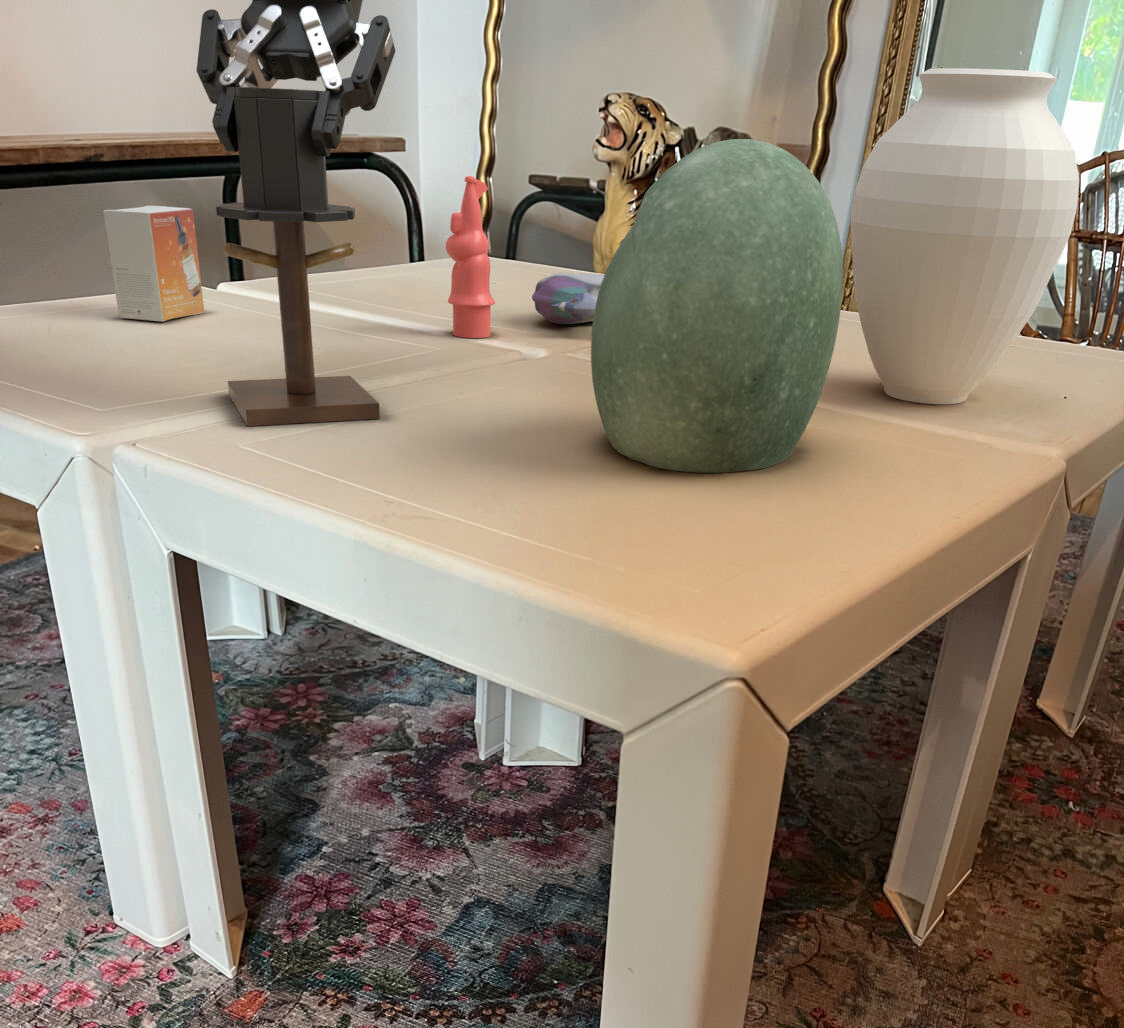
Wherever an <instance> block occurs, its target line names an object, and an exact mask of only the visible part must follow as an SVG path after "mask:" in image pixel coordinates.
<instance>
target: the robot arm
mask: <svg viewBox="0 0 1124 1028" xmlns="http://www.w3.org/2000/svg"><path fill="white" fill-rule="evenodd" d="M363 2H364V1H363V0H252V1H251V3H250V4H249V6H248V7H247V8H246V9H245V10H244V11H243V13H242V15H241V18H230V19H222V18H221V16H220V14H219V13H220V12H218V11H217V10H216V9H214V8H213V9H208V10H205V11H204V12H203V14H202V16H201V24H200V35H199V45H198V53H197V63H196V64H197V65H196V74H197V75H198V79H199V80H200V82H201V84H202V87H203V89H204V91H205V93H206V95H207V98H208V99H209V102H210V103H211V104H213V105H215V108H214V112H213V115H212V120H211V123H212V128H213V129H214V132H215V134H216V137H217V138H218V141H219V142H220V144H222V146H223V147H224V150H225V151H226V152H227V153H229V152H230V153H239V148H238V138H237V127H236V116H235V106H234V97H236V96H235V87H253V88H273V87H274V85H275V84H276V83H277V82H278V81H286V80H292V79H298V80H303V81H308V82H317V81H318V78H321V81H322V83H323V87H324V89H325V90H319V91H320V94H319V98H318V103H317V107H316V112H315V116H314V121H313V125H312V130H311V135H312V140H313V143H314V146H315V149H316V151H317V154H318V156H325V158H326V157H327V158H328V157H330V156H331V152H332V149H333V150H335V149H337V148H338V146H339V145H340V144H341V139H342V135H343V130H344V125H345V120H346V117H347V116H349V114H350V112H351V110H352V109H356V108H360V109H361V110H362V111H364V112H369V111H372V110H374V109H375V108H376V107H377V103H378V101H379V98H380V96H381V93H382V90H383V87H384V85H385V82H386V79H387V77H388V74H389V71H390V67H391V66H392V63H393V60H394V57H395V54H396V47H395V43H394V38H393V35H392V30H391V27H390V22H389V20H388V17H387V16H385V15H381V14H379V15H376V16H374V17H373V18H372V19H371V22H370V23H364V22H359V19H360V14H361V10H362V5H363ZM358 45H359V47H360V49H359V50H360V51H359V53H358V56H357V58H356V61H355V64H354V67H353V69H352V72H351V75H350V76H349V77H345V78H342V76H341V74H340V71H339V68H338V66H337V65H338V64H340V62H341V61H343V60H344V59H345V58H346V57H347V56H348V55H350V53H352V52H353V51H354V50H355V49H356V48H357V47H358ZM230 58H233V60H232V61H231V62H230ZM261 66H262V67H261ZM243 79H244V81H243ZM242 81H243V82H242ZM241 82H242V84H240V83H241Z"/></svg>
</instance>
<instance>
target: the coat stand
mask: <svg viewBox="0 0 1124 1028" xmlns="http://www.w3.org/2000/svg"><path fill="white" fill-rule="evenodd" d="M304 222H305V221H303V222H272V229H273V240H274V241H273V242H274V253H275V254H272V253H270V252H269V253H268V252H265V251H261V250H258V249H254V248H251V247H248V246H244V245H239V244H236V243H232V242H227V243H225V244H224V245H223V252H224V254H225V255H226V256H228V257H230V258H234V259H238V260H242V261H245V262H249V263H253V264H256V265H261V266H263V267H268V268H272V269H275V270H276V275H277V276H276V277H277V278H276V279H277V290H278V300H279V313H280V326H281V337H282V346H283V347H282V348H283V349H282V350H283V359H284V371H285V373H284V374H285V378H266V379H264V378H263V379H243V380H227V390H228V396H229V398H230V399H231V402H232V403H233V405H234V406H235V408H236V410H237V411H238V413H239V415H240V417H241V418H242V420H243V421H244V423H245V424H246V426H247V427H257V426H258V427H259V426H260V427H261V426H274V425H275V426H276V425H277V426H278V425H292V424H309V423H327V422H329V423H331V422H344V421H345V422H346V421H347V422H348V421H364V420H365V421H366V420H379V419H380V418H381V414H380V402H379V401H377V400H376V399H375V398H374V397H373V396H372V395H371V394H370V393H369V392H368V391H367V390H366V389H365V388H364V387H363V386H362V385H360V384H359V383H358V381H356V380H355V378H353V377H352V376H351V375H337V376H334V375H333V376H315V363H314V350H313V348H314V347H313V335H312V323H311V321H312V320H311V307H310V292H309V279H308V270H309V269H311V268H314V267H318V266H320V265H321V266H322V265H324V264H327V263H330V262H334V261H336V260H337V261H338V260H340V259H344V258H346V257H347V258H348V257H350V256H352V255H354V253H355V246H354V244H353V243H352V242H344V243H341V244H338V245H335V246H331V247H328V248H324V249H322V250H319V251H318V250H317V251H315V252H311V253H308V254H307V251H306V250H307V249H306V237H305V236H306V235H305V223H304Z"/></svg>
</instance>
